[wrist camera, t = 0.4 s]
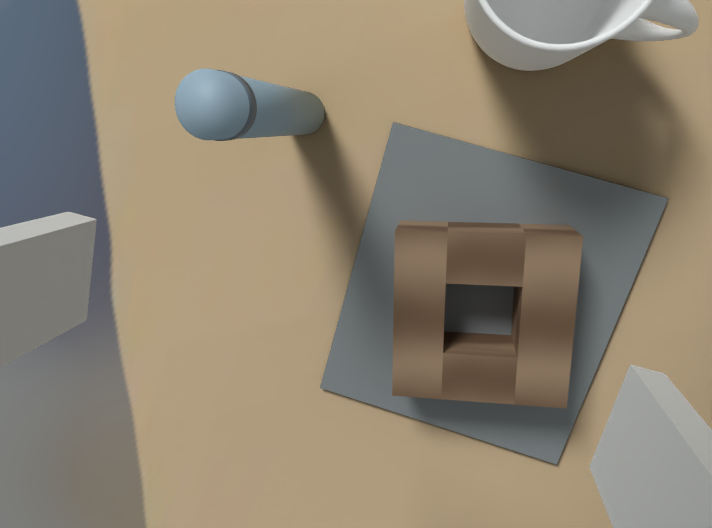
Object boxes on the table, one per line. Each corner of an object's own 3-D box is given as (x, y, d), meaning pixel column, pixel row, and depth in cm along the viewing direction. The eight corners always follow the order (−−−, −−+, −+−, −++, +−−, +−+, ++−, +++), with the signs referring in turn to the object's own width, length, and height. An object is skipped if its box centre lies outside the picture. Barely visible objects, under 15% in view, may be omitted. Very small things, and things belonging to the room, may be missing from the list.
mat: (393, 122, 38) (392, 122, 37) (666, 197, 36) (668, 198, 36) (321, 385, 43) (320, 387, 43) (555, 461, 41) (556, 464, 41)
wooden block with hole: (400, 220, 39) (394, 230, 35) (569, 224, 37) (583, 236, 33) (397, 370, 41) (392, 395, 37) (555, 381, 40) (566, 408, 36)
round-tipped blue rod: (288, 85, 38) (180, 59, 23) (330, 97, 38) (247, 77, 23) (279, 128, 39) (168, 130, 24) (319, 140, 39) (233, 149, 23)
